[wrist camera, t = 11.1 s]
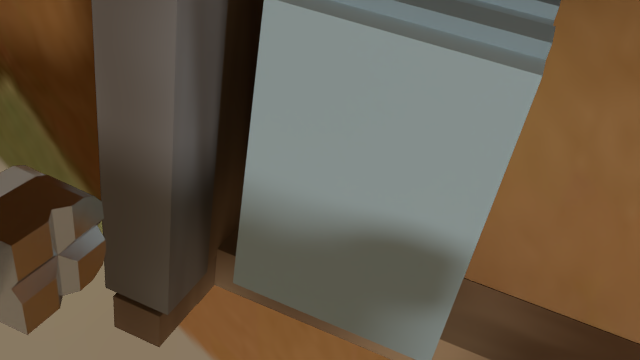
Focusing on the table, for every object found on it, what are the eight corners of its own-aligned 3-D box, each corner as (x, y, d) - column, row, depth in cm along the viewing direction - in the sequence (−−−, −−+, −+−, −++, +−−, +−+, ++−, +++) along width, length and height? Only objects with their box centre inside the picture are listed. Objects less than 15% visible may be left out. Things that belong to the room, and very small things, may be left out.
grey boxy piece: (562, -12, 14) (548, 58, 9) (469, 234, 18) (426, 374, 13) (368, -60, 15) (265, -21, 10) (321, 181, 19) (231, 291, 15)
